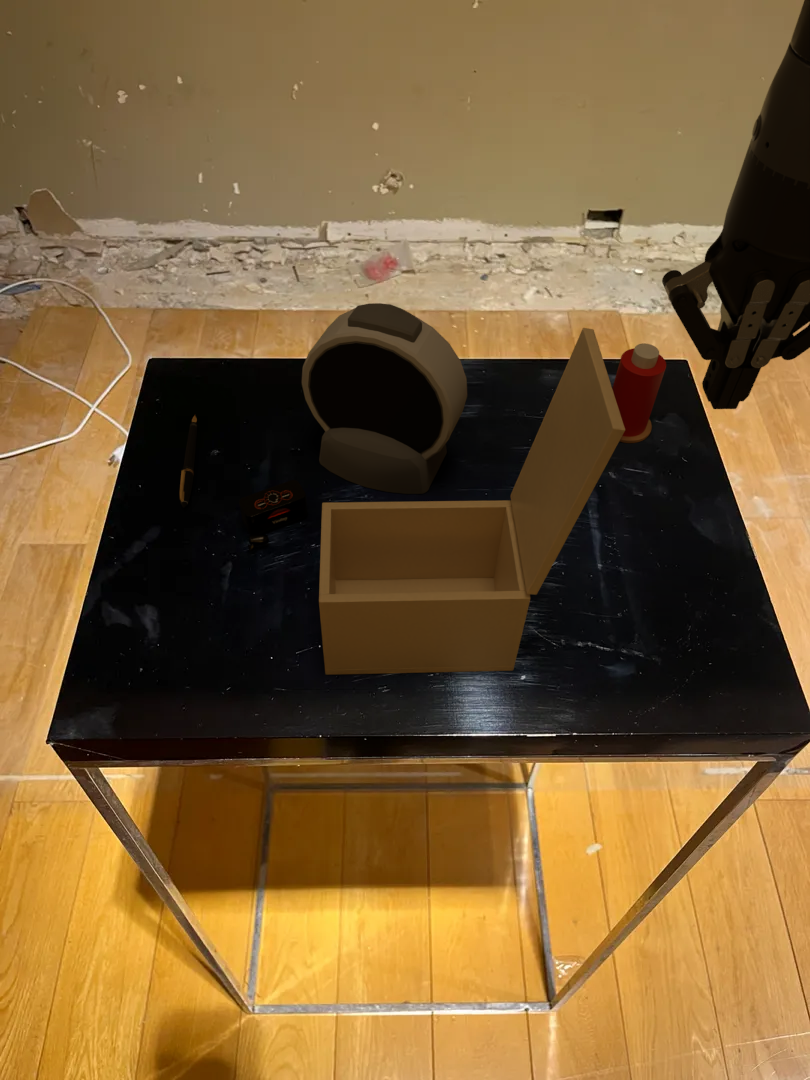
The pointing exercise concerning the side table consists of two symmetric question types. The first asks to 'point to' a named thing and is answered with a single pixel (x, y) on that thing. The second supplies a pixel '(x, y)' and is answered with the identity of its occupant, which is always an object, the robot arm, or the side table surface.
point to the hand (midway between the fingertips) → (720, 401)
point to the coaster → (638, 437)
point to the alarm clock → (384, 397)
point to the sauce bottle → (638, 386)
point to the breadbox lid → (565, 459)
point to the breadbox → (420, 587)
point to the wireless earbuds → (272, 510)
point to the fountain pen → (188, 464)
